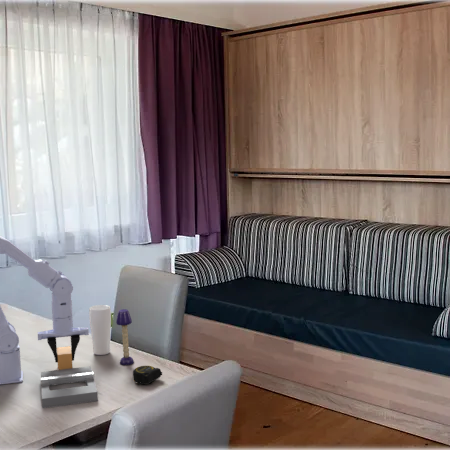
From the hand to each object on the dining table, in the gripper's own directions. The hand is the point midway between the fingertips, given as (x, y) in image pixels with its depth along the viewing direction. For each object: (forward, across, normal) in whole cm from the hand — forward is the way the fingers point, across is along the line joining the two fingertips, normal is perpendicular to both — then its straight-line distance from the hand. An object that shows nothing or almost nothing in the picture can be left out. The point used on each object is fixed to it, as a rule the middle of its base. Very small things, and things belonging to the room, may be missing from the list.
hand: (64, 360), depth 190 cm
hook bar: (+1, 0, +16) cm, 16 cm away
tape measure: (+3, -22, +17) cm, 28 cm away
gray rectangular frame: (+3, 0, +16) cm, 16 cm away
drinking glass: (+3, -12, -12) cm, 17 cm away
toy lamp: (+3, -18, 0) cm, 18 cm away
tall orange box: (+3, 0, 0) cm, 3 cm away
